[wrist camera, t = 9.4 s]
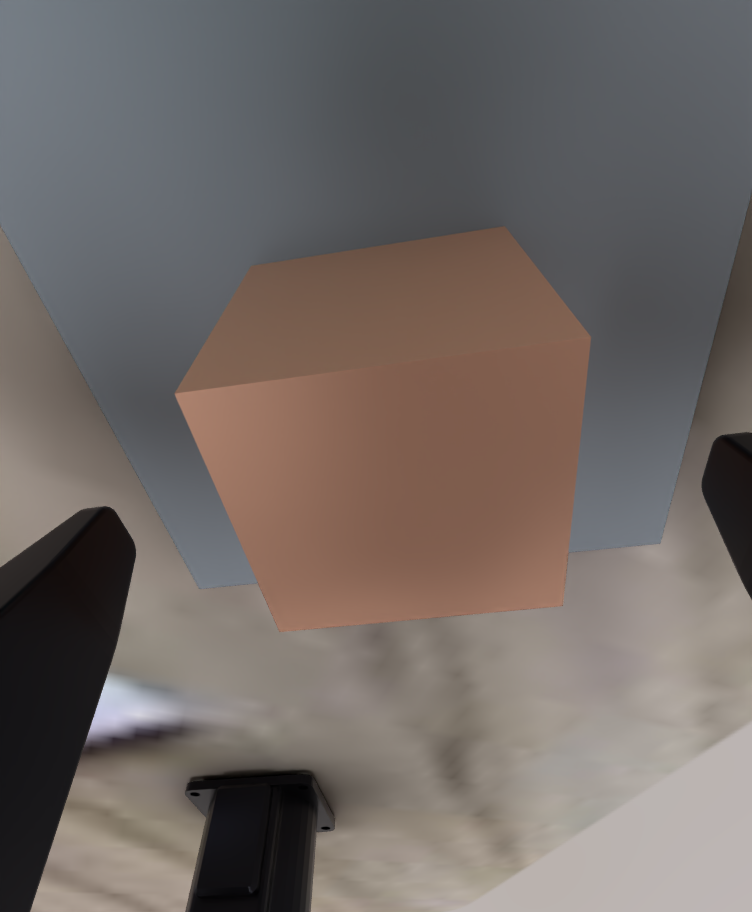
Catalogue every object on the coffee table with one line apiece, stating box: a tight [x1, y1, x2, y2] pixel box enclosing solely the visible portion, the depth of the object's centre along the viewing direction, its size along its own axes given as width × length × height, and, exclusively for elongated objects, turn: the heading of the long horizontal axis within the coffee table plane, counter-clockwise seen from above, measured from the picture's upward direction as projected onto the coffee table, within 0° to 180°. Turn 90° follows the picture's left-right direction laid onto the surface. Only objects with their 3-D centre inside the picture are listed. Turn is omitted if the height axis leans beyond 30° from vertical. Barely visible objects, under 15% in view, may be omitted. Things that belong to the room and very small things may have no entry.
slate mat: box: [0, 0, 752, 589], centre depth 12 cm, size 14×14×1 cm
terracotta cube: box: [174, 226, 591, 632], centre depth 10 cm, size 5×5×5 cm
